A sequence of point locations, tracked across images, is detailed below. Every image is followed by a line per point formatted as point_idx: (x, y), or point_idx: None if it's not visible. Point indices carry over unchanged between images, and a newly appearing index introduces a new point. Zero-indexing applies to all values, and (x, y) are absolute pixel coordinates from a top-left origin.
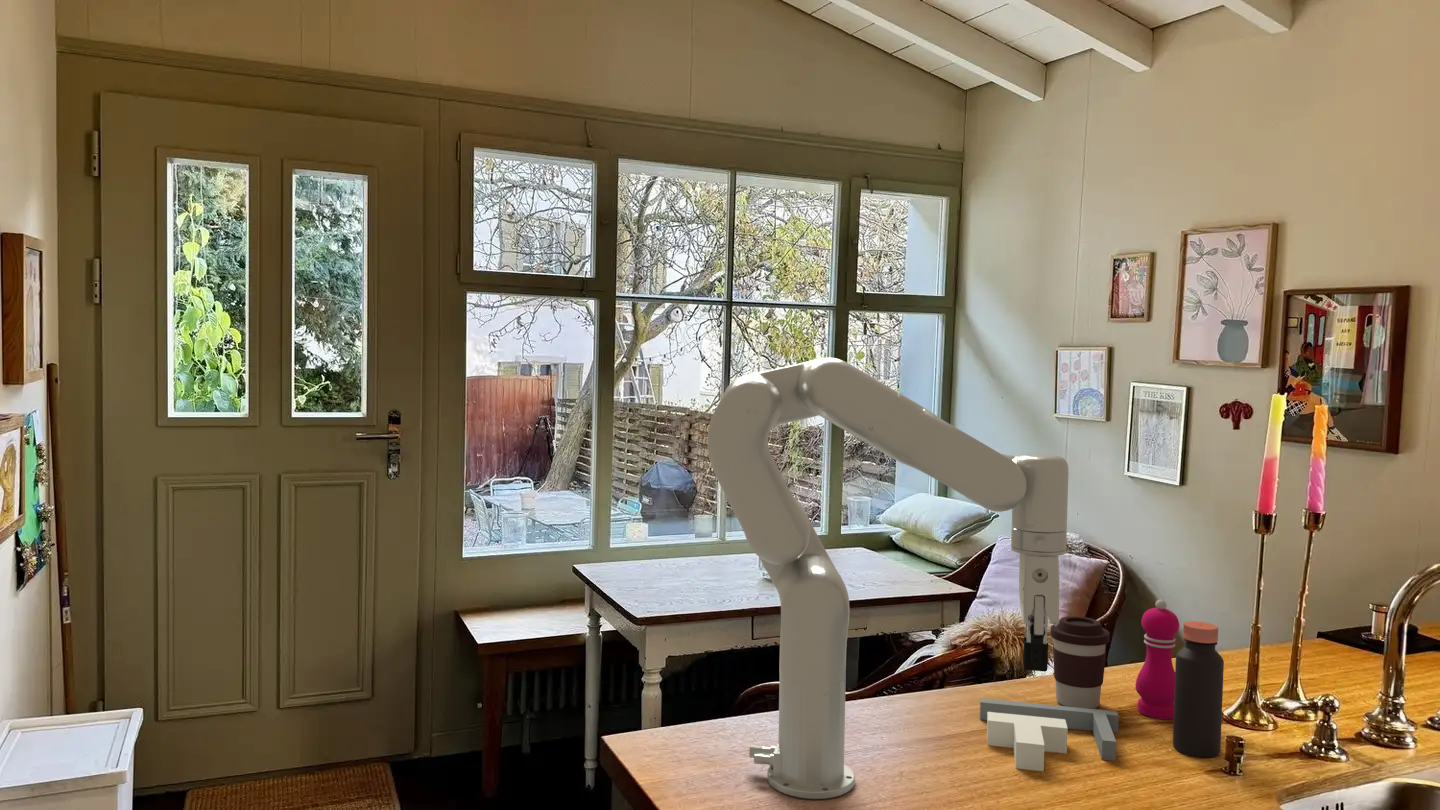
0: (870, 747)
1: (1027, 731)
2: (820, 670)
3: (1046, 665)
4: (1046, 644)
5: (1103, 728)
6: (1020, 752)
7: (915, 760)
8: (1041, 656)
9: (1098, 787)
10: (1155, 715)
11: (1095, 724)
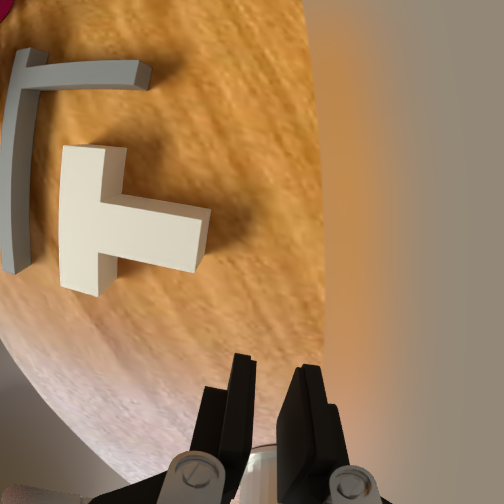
0: (170, 419)
1: (133, 236)
2: None
3: (320, 381)
4: (364, 470)
5: (79, 75)
6: (199, 258)
7: (200, 385)
8: (342, 433)
9: (273, 128)
10: (9, 6)
11: (53, 86)
